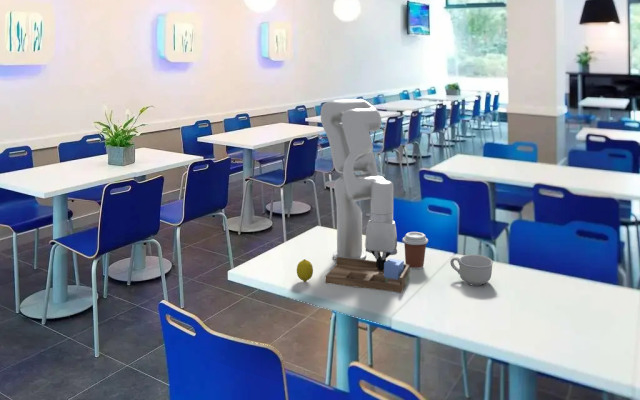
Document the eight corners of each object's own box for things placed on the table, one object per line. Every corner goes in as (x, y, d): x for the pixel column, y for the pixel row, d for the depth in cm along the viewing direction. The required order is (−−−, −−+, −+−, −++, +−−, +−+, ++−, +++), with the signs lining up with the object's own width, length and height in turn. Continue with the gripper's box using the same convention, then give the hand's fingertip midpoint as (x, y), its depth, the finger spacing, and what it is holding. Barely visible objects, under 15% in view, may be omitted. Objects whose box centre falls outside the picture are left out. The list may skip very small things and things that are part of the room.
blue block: (389, 272, 192) (390, 258, 191) (403, 274, 190) (403, 260, 189) (383, 277, 188) (384, 262, 187) (398, 279, 186) (398, 265, 185)
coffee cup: (432, 267, 204) (433, 235, 201) (414, 272, 199) (415, 240, 196) (414, 260, 211) (415, 229, 209) (396, 265, 206) (397, 233, 204)
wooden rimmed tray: (337, 270, 202) (337, 256, 201) (409, 278, 194) (409, 264, 192) (325, 283, 190) (325, 269, 189) (401, 292, 182) (401, 277, 181)
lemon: (311, 285, 189) (310, 262, 187) (295, 284, 190) (294, 261, 188) (314, 279, 194) (314, 257, 192) (299, 278, 195) (298, 256, 193)
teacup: (497, 281, 190) (498, 259, 188) (481, 291, 182) (483, 267, 180) (460, 272, 199) (461, 250, 197) (443, 280, 191) (444, 258, 190)
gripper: (356, 218, 187) (356, 270, 191) (401, 222, 182) (400, 275, 186) (363, 213, 194) (362, 263, 198) (406, 216, 189) (405, 268, 193)
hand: (381, 269), depth 192 cm, fingers closed
